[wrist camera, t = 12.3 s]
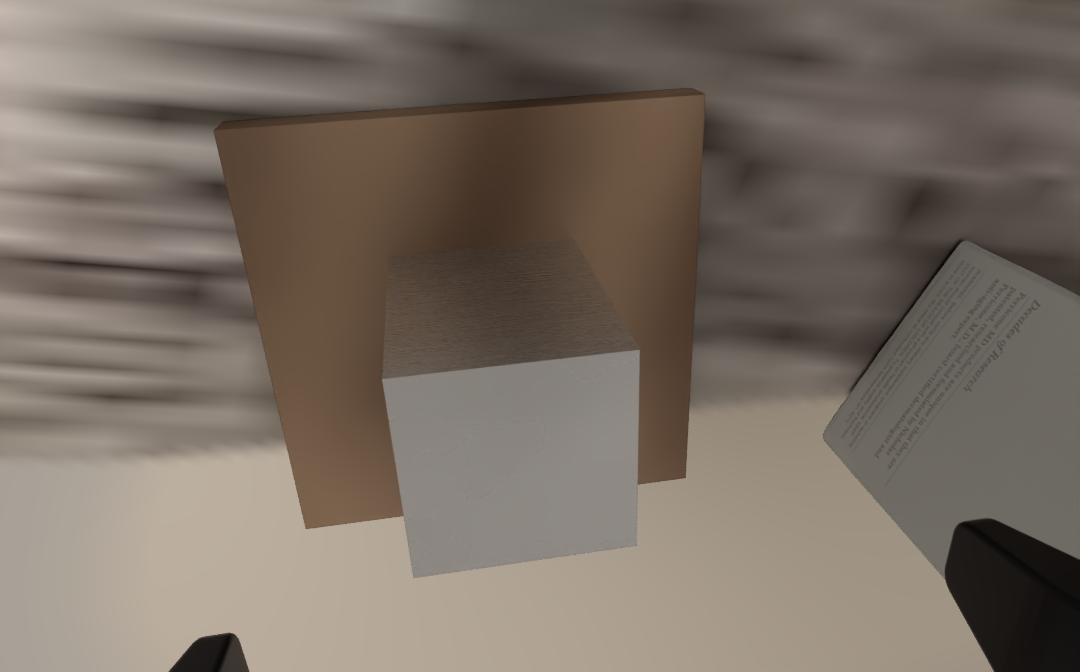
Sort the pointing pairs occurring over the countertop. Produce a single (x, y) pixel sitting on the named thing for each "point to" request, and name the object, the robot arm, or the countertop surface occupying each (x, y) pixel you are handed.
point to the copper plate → (454, 224)
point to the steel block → (509, 406)
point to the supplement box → (973, 408)
